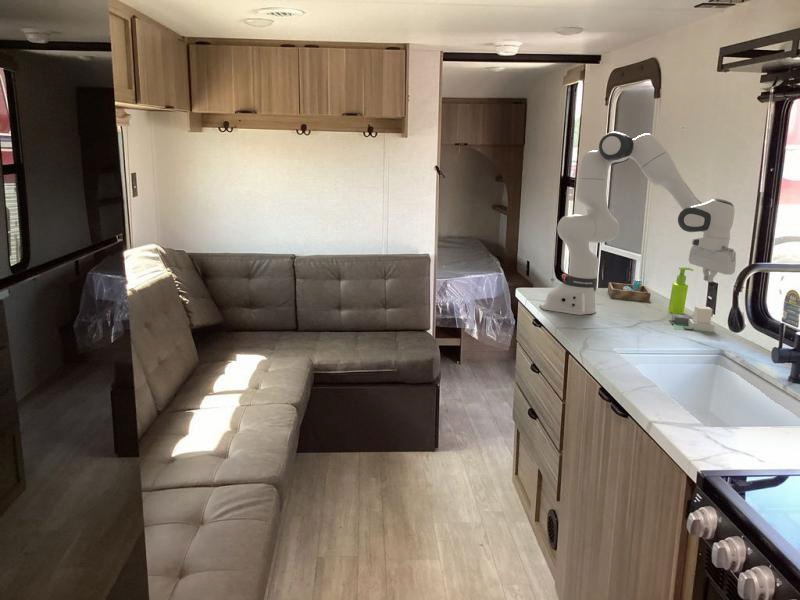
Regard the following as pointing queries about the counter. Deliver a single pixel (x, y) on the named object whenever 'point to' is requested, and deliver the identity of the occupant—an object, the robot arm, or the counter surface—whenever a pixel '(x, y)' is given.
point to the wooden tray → (628, 292)
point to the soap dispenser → (679, 293)
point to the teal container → (634, 286)
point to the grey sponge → (679, 319)
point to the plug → (702, 315)
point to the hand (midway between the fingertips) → (707, 281)
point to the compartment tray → (695, 327)
